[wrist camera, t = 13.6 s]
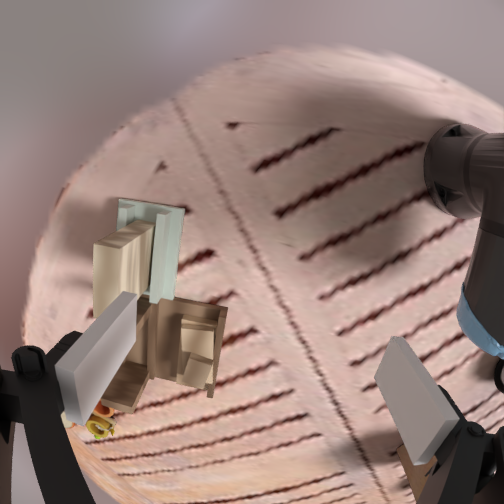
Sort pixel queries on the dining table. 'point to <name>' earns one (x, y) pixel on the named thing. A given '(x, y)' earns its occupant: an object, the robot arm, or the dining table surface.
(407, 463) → the wooden block
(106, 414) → the toy tea set
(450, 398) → the robot arm
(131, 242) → the birch block
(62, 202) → the dining table surface
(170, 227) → the stand
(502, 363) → the portable speaker
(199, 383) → the rack
